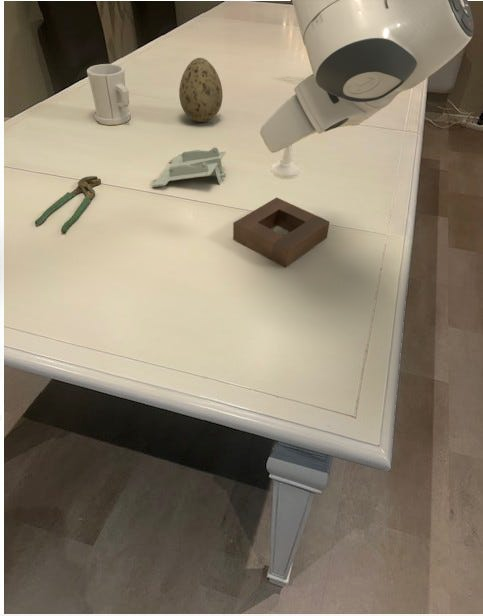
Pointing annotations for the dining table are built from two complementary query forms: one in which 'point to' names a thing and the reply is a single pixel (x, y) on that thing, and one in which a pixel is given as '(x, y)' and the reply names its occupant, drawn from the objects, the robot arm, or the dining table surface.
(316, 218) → the socket block
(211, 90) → the decorative egg
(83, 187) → the pliers
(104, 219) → the dining table surface
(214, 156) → the metal bracket
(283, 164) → the chess piece
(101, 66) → the cup
